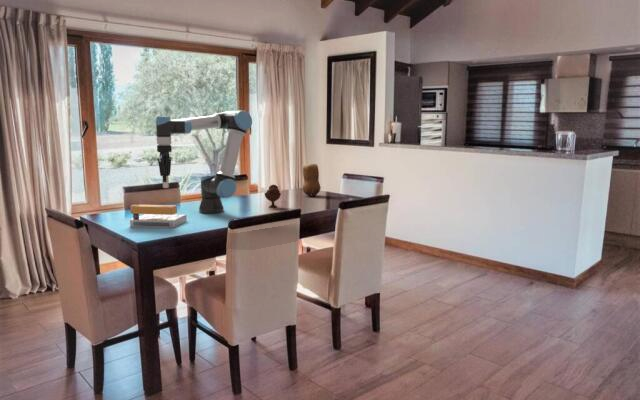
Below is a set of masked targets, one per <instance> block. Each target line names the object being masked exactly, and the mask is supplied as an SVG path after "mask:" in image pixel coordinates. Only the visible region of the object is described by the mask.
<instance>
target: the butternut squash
mask: <svg viewBox="0 0 640 400" xmlns="http://www.w3.org/2000/svg"><path fill="white" fill-rule="evenodd" d="M302 175H303V184H302V191H303V193H304V194H305V195H307V196H308V197H316V196H317V195H318V194H319V193H320V191H321V188H322V187H321V185H320V184H321V183H320V181H319V178H320V177H319V176H320V171H319V167H318V164H316V163H306V164H303V166H302Z"/></svg>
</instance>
